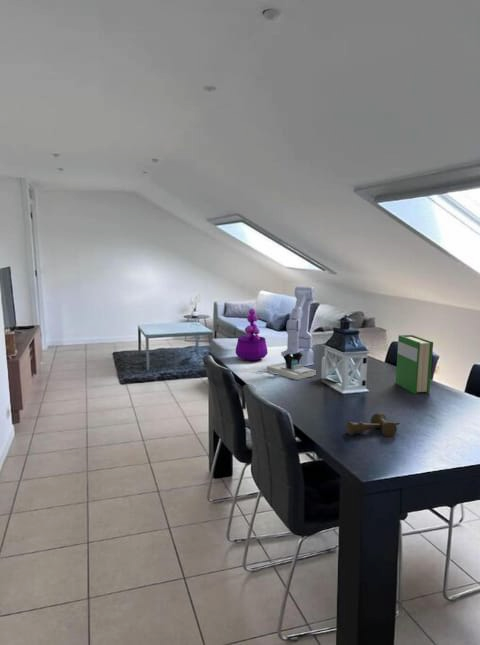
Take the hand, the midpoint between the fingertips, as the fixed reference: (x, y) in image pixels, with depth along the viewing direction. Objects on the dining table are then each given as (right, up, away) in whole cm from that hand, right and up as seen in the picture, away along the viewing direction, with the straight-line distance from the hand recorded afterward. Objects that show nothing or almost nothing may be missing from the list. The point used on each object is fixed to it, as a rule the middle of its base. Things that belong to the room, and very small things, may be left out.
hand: (292, 367), depth 251 cm
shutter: (+4, -1, -5) cm, 6 cm away
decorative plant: (-21, +2, +31) cm, 37 cm away
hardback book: (+54, -8, -24) cm, 60 cm away
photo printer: (+18, -5, -12) cm, 22 cm away
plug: (0, -2, +1) cm, 2 cm away
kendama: (+21, -16, -79) cm, 83 cm away
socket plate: (-1, -3, +1) cm, 3 cm away
